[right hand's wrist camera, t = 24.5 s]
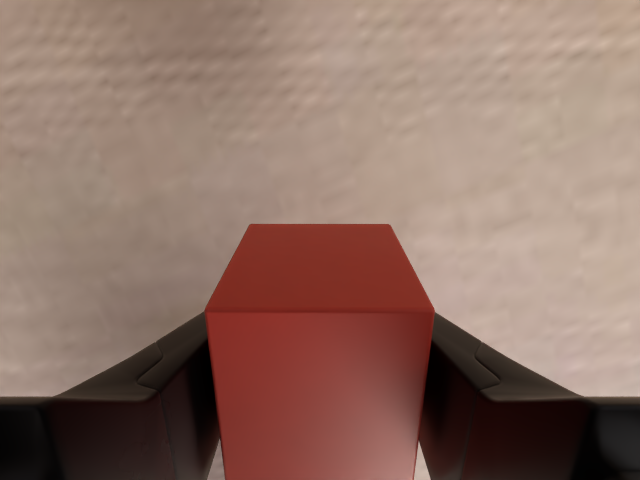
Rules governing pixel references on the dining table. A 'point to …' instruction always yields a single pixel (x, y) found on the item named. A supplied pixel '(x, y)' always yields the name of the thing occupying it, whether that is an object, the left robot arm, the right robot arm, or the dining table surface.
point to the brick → (319, 354)
